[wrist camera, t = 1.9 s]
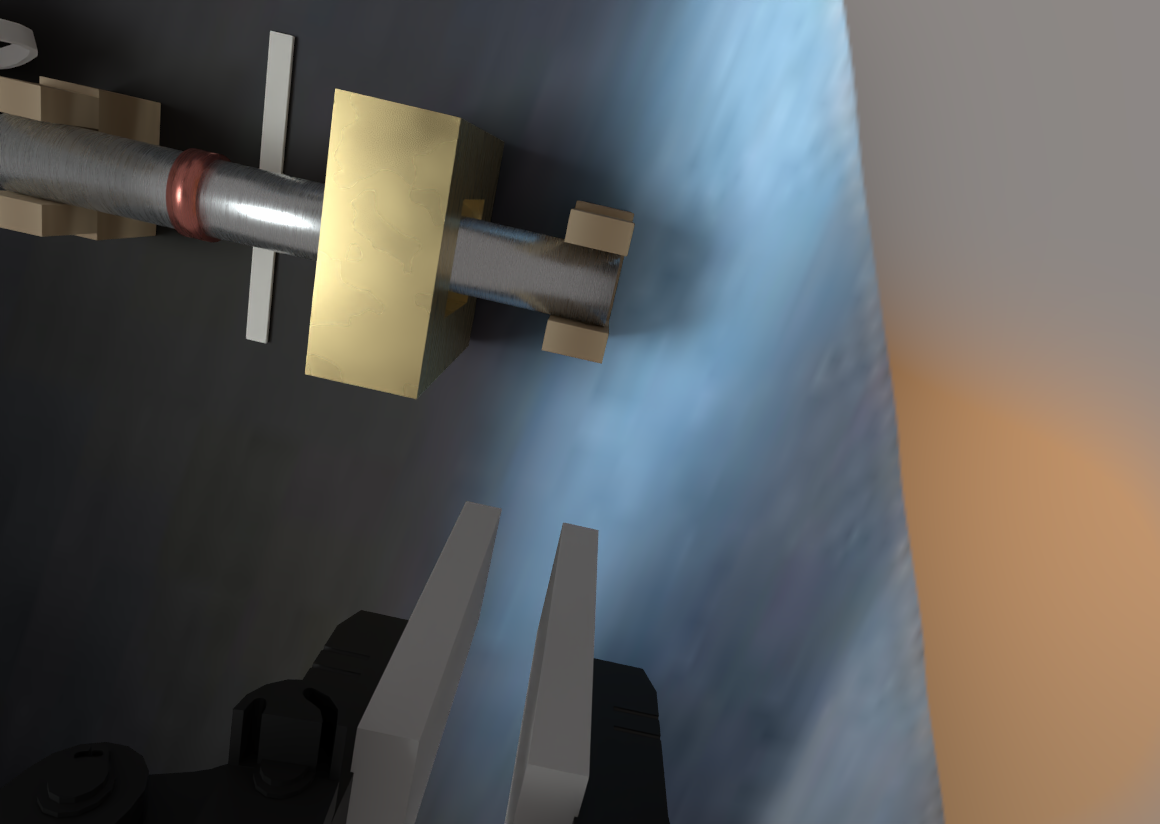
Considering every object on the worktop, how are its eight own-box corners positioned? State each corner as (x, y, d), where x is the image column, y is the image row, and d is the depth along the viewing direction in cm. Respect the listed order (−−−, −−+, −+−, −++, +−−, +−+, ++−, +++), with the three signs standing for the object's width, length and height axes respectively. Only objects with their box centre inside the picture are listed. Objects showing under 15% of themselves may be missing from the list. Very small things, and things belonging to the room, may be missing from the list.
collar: (387, 327, 33) (304, 373, 24) (415, 121, 31) (335, 88, 22) (468, 345, 34) (416, 398, 25) (504, 142, 31) (460, 117, 22)
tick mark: (247, 338, 35) (246, 338, 35) (272, 31, 31) (270, 30, 30) (267, 342, 35) (265, 343, 35) (295, 36, 31) (292, 36, 30)
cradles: (106, 224, 33) (-21, 230, 27) (108, 91, 32) (-26, 61, 25) (602, 337, 34) (599, 370, 27) (631, 212, 32) (636, 215, 26)
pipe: (49, 197, 29) (-21, 197, 26) (48, 112, 28) (-25, 100, 25) (603, 323, 30) (602, 338, 27) (621, 244, 29) (623, 250, 26)
